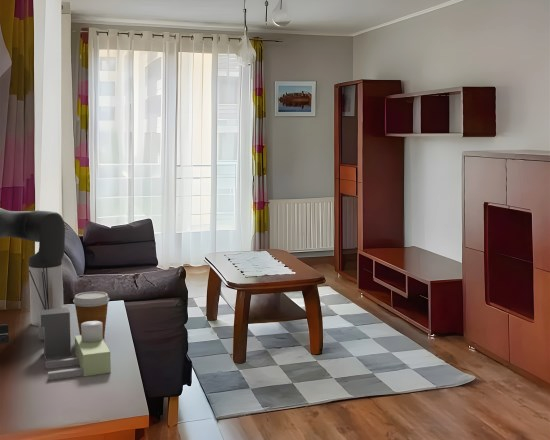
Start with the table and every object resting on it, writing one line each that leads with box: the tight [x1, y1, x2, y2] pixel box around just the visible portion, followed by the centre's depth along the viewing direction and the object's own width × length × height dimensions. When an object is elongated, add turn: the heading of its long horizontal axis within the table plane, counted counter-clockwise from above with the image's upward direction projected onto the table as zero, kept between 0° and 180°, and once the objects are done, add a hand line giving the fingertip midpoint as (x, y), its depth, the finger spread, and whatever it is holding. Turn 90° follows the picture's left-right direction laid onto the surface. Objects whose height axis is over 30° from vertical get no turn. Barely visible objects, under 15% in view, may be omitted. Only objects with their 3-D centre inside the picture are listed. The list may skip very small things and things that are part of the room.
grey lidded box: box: [39, 307, 72, 359], centre depth 157 cm, size 5×7×11 cm
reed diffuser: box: [28, 266, 49, 340], centre depth 169 cm, size 10×7×20 cm
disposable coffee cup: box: [72, 291, 110, 339], centre depth 170 cm, size 10×10×12 cm
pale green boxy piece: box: [45, 321, 112, 381], centre depth 149 cm, size 16×14×9 cm
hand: (8, 333), depth 153 cm, fingers open, 8 cm apart
